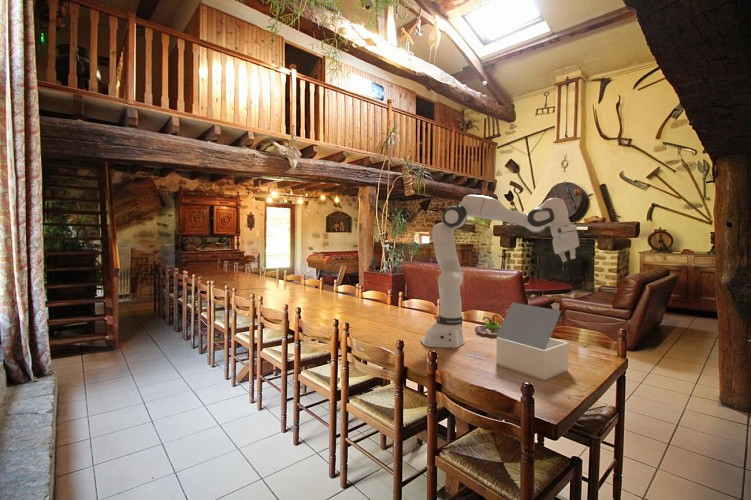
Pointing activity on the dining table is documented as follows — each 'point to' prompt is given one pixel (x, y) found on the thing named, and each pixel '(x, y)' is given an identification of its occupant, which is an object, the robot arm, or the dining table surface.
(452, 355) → the dining table surface
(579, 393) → the dining table surface
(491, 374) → the dining table surface
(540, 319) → the carton flap
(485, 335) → the succulent planter
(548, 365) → the shipping carton
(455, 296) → the robot arm
